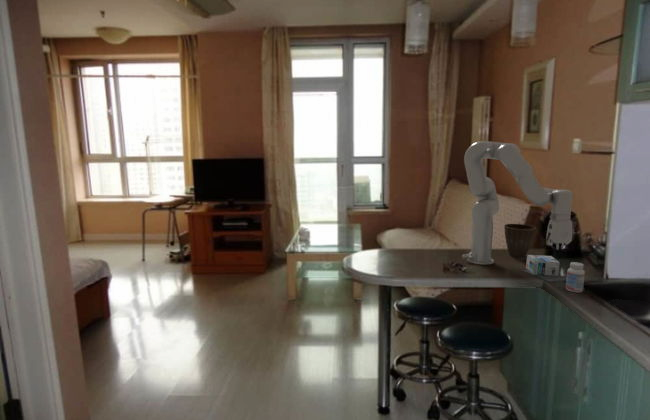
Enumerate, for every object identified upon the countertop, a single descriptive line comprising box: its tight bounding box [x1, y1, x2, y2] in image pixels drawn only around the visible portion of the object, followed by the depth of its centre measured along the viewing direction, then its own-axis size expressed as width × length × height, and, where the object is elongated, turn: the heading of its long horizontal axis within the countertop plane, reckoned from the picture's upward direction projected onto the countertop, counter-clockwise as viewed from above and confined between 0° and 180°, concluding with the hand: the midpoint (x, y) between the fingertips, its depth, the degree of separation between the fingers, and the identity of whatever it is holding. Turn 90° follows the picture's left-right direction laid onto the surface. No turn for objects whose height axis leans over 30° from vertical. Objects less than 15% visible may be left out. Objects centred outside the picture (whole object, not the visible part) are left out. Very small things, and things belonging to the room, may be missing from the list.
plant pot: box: [503, 223, 537, 259], centre depth 216 cm, size 15×15×16 cm
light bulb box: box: [525, 254, 560, 276], centre depth 189 cm, size 11×7×11 cm
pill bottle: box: [565, 261, 586, 293], centre depth 166 cm, size 6×6×11 cm
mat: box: [522, 269, 567, 283], centre depth 186 cm, size 11×16×1 cm
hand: (556, 257), depth 186 cm, fingers closed
